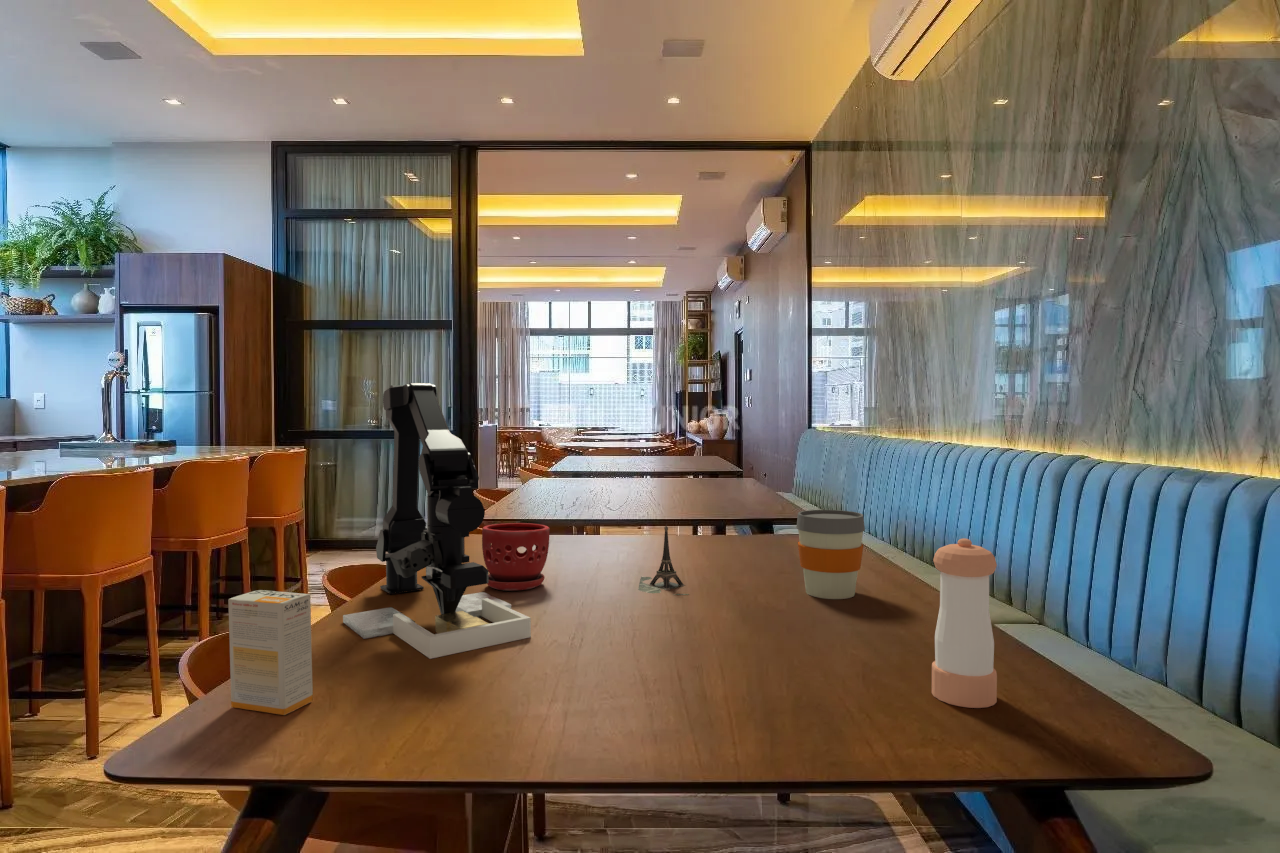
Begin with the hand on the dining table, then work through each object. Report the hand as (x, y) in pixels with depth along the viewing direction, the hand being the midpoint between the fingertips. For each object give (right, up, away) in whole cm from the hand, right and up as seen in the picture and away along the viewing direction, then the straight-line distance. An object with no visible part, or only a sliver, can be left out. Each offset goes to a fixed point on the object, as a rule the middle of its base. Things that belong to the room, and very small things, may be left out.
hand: (447, 620), depth 119 cm
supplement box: (-13, -2, -31) cm, 34 cm away
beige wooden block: (+5, -1, -6) cm, 8 cm away
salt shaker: (+70, -2, -29) cm, 76 cm away
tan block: (+2, -1, -3) cm, 4 cm away
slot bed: (-5, -1, +6) cm, 8 cm away
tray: (+3, -1, -4) cm, 6 cm away
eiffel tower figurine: (+36, -1, +28) cm, 45 cm away
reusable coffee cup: (+67, -1, +21) cm, 70 cm away
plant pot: (+7, -1, +28) cm, 28 cm away
